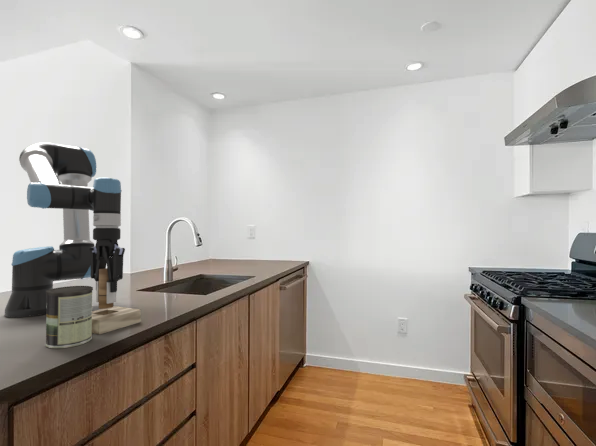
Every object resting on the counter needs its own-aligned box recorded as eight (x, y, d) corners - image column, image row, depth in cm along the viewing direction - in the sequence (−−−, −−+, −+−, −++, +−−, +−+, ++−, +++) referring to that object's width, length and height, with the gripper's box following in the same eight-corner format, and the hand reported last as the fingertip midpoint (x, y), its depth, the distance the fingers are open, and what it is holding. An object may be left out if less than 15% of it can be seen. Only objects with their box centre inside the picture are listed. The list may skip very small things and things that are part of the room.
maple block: (72, 329, 99) (72, 315, 100) (115, 317, 112) (115, 306, 112) (99, 334, 95) (99, 320, 95) (140, 322, 107) (140, 309, 107)
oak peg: (107, 305, 107) (108, 267, 107) (116, 306, 105) (116, 268, 105) (95, 308, 103) (95, 269, 103) (104, 309, 101) (104, 269, 101)
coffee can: (35, 349, 83) (36, 292, 83) (61, 336, 93) (61, 285, 93) (78, 348, 84) (79, 292, 84) (99, 335, 94) (100, 285, 94)
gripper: (77, 227, 105) (76, 302, 104) (114, 227, 98) (114, 307, 97) (100, 227, 111) (99, 297, 111) (136, 227, 104) (135, 302, 104)
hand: (106, 301), depth 104 cm, fingers closed on oak peg, 4 cm apart
